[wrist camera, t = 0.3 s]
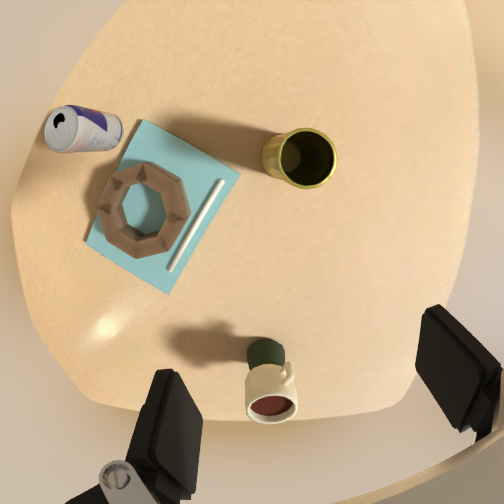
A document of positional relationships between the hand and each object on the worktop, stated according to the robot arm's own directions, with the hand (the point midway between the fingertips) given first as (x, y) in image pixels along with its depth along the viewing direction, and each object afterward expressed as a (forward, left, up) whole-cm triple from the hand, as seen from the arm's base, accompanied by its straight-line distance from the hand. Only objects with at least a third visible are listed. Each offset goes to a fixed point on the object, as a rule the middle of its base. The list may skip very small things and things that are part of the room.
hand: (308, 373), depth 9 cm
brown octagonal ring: (+7, -13, -29) cm, 33 cm away
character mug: (+19, +14, -31) cm, 39 cm away
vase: (-8, -1, -31) cm, 31 cm away
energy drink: (+1, -24, -31) cm, 39 cm away
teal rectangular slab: (+7, -12, -30) cm, 34 cm away
